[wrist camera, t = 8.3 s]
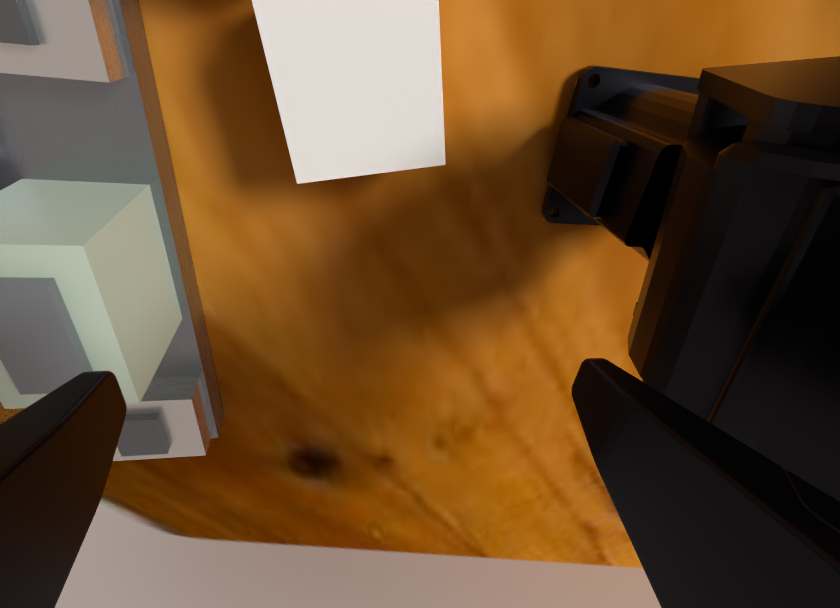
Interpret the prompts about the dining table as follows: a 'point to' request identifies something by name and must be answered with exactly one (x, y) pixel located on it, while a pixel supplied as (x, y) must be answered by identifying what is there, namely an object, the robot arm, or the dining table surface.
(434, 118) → the block
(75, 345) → the module
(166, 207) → the rail
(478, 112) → the dining table surface
